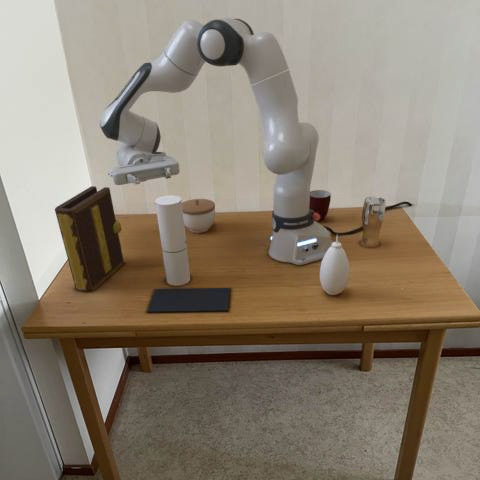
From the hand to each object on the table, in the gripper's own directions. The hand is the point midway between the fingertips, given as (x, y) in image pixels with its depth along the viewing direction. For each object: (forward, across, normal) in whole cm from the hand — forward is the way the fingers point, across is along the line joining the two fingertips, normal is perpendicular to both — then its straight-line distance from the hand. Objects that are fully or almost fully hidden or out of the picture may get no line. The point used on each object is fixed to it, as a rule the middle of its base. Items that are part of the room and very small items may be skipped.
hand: (153, 178), depth 142 cm
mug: (-5, +60, +28) cm, 66 cm away
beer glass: (+22, +64, +28) cm, 73 cm away
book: (-4, -20, +28) cm, 34 cm away
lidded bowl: (-20, +20, +28) cm, 40 cm away
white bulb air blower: (+42, +36, +28) cm, 61 cm away
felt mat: (+25, -1, +28) cm, 37 cm away
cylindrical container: (+12, 0, +28) cm, 30 cm away
